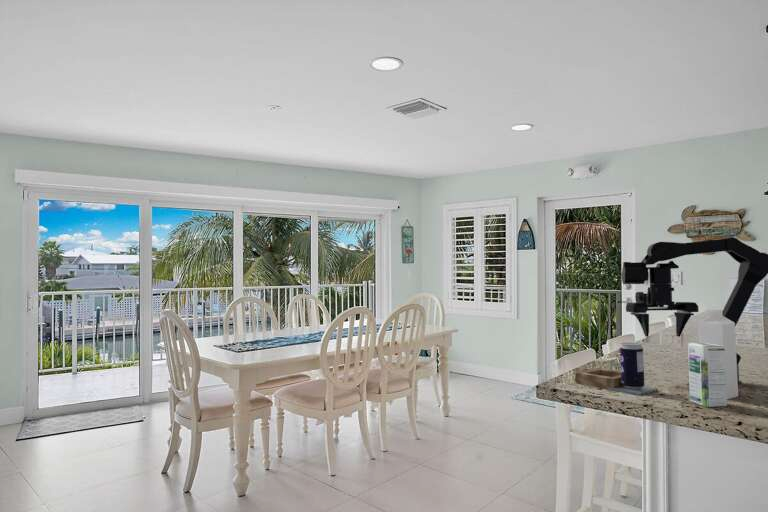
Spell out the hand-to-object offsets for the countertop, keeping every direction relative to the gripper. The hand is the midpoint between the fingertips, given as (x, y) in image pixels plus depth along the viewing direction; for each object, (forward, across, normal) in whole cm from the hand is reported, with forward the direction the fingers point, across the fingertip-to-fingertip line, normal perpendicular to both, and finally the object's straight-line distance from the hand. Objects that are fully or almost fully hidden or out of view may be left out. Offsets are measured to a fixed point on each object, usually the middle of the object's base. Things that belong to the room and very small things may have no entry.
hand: (662, 336), depth 149 cm
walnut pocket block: (+13, +18, +4) cm, 23 cm away
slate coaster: (+13, +15, +12) cm, 23 cm away
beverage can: (+13, +14, +12) cm, 23 cm away
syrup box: (+13, +3, +27) cm, 31 cm away
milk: (+13, -4, +19) cm, 24 cm away
